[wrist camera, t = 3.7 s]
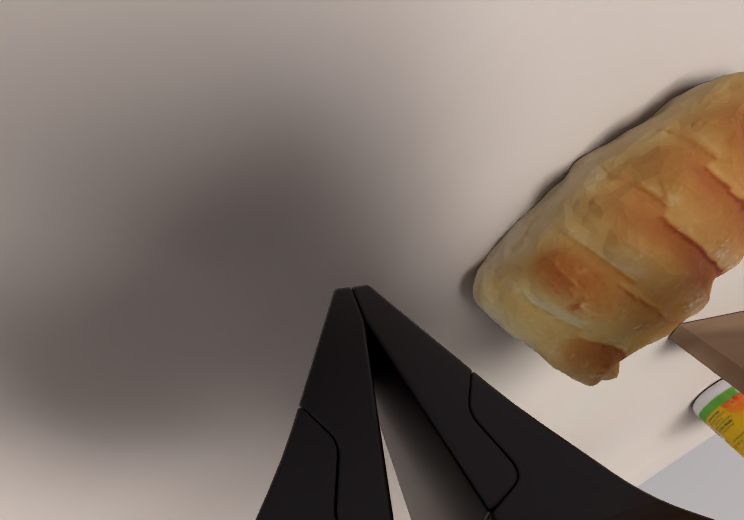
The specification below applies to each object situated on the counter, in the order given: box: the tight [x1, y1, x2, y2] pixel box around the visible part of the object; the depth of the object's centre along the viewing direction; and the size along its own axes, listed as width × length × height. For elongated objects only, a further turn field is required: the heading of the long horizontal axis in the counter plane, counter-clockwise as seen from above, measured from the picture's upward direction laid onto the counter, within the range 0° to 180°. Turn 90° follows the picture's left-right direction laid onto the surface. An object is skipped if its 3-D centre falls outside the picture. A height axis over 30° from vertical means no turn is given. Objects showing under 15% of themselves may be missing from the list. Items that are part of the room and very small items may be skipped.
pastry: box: [473, 72, 744, 386], centre depth 9 cm, size 9×7×4 cm
